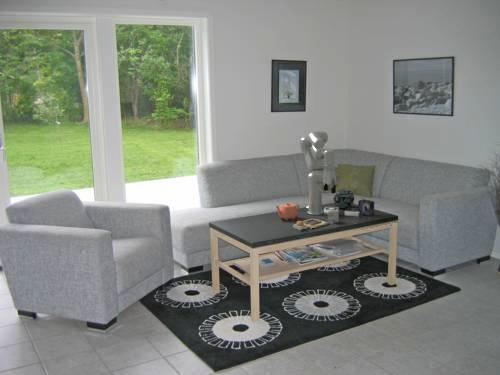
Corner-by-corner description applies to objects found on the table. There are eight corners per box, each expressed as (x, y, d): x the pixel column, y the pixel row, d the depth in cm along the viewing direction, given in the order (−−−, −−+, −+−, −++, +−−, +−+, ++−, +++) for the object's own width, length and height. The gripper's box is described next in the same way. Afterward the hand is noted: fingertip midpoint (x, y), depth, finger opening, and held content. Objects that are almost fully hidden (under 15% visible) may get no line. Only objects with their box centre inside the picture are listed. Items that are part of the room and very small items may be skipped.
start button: (295, 226, 364) (295, 221, 363) (300, 224, 367) (300, 220, 366) (300, 227, 360) (300, 223, 360) (304, 226, 363) (304, 221, 362)
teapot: (295, 215, 399) (295, 199, 396) (303, 219, 388) (303, 203, 385) (271, 218, 391) (271, 203, 389) (278, 222, 380) (278, 206, 378)
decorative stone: (348, 211, 403) (348, 192, 400) (329, 208, 413) (329, 190, 410) (357, 207, 416) (357, 188, 412) (339, 204, 425) (339, 186, 422)
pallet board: (295, 224, 375) (295, 221, 374) (312, 219, 385) (312, 216, 384) (311, 229, 362) (311, 226, 362) (329, 224, 372) (329, 221, 372)
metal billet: (328, 222, 378) (328, 211, 376) (333, 220, 381) (333, 209, 380) (332, 223, 374) (332, 212, 373) (338, 221, 378) (338, 211, 376)
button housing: (293, 228, 365) (293, 224, 364) (300, 226, 369) (300, 222, 368) (300, 231, 359) (300, 226, 359) (307, 229, 363) (307, 224, 363)
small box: (357, 214, 396) (357, 200, 394) (362, 212, 400) (362, 198, 398) (369, 216, 389) (369, 202, 386) (374, 214, 393) (374, 201, 391)
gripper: (318, 166, 372) (318, 190, 375) (331, 170, 356) (332, 194, 360) (327, 165, 375) (327, 189, 378) (341, 168, 359) (341, 193, 363)
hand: (329, 191), depth 369 cm, fingers open, 9 cm apart
